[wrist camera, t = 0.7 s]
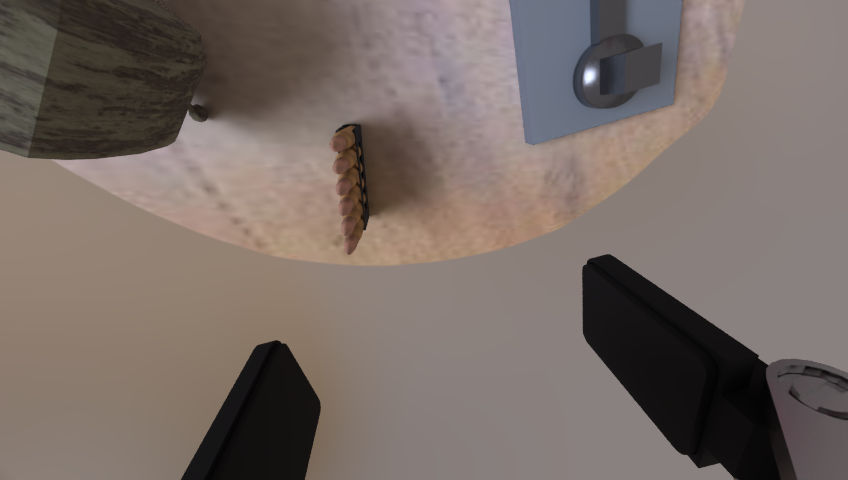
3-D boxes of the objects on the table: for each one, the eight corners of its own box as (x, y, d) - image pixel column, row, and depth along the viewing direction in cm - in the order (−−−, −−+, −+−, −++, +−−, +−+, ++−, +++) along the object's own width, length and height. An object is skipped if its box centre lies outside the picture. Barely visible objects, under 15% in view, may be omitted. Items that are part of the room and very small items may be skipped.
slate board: (500, -83, 27) (508, -97, 25) (675, -137, 26) (696, -155, 24) (525, 142, 35) (532, 144, 33) (658, 104, 35) (673, 104, 33)
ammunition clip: (343, 124, 32) (318, 133, 21) (360, 124, 32) (344, 133, 22) (354, 217, 37) (338, 264, 26) (369, 216, 37) (359, 263, 26)
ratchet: (564, -98, 25) (607, -149, 20) (638, -121, 25) (700, -177, 20) (573, 115, 32) (607, 117, 27) (631, 99, 32) (675, 97, 27)
